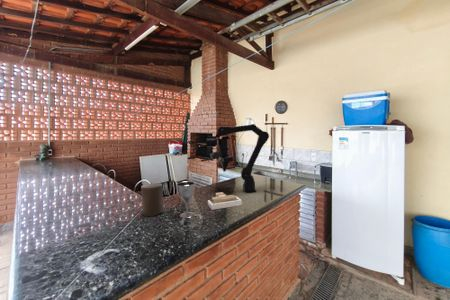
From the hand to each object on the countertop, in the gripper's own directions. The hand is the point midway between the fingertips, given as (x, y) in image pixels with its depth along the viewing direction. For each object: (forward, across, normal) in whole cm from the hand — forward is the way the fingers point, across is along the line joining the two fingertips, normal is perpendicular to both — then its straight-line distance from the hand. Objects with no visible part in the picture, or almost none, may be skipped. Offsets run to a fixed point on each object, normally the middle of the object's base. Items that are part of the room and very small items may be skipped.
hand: (224, 171), depth 131 cm
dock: (+13, +22, -8) cm, 27 cm away
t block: (+13, +19, -8) cm, 24 cm away
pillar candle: (+13, +18, -43) cm, 48 cm away
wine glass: (+13, +28, -28) cm, 42 cm away
